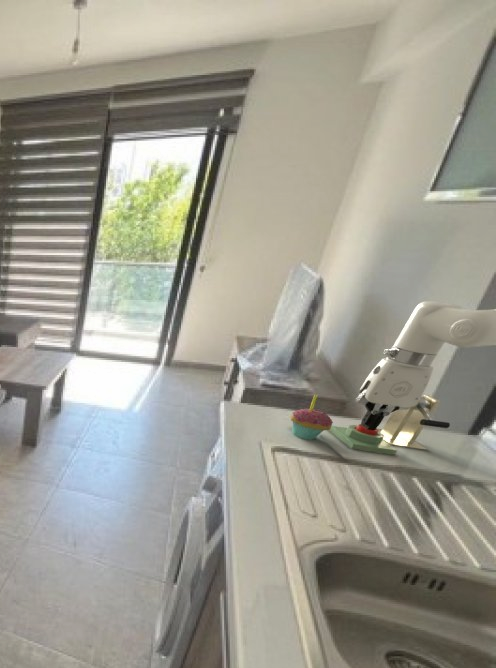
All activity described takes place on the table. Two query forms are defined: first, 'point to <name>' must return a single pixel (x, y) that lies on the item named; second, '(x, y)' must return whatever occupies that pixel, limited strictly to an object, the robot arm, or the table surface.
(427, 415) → the lever
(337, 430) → the button box
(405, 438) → the bracket
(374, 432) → the button
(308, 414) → the cupcake
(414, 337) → the robot arm
